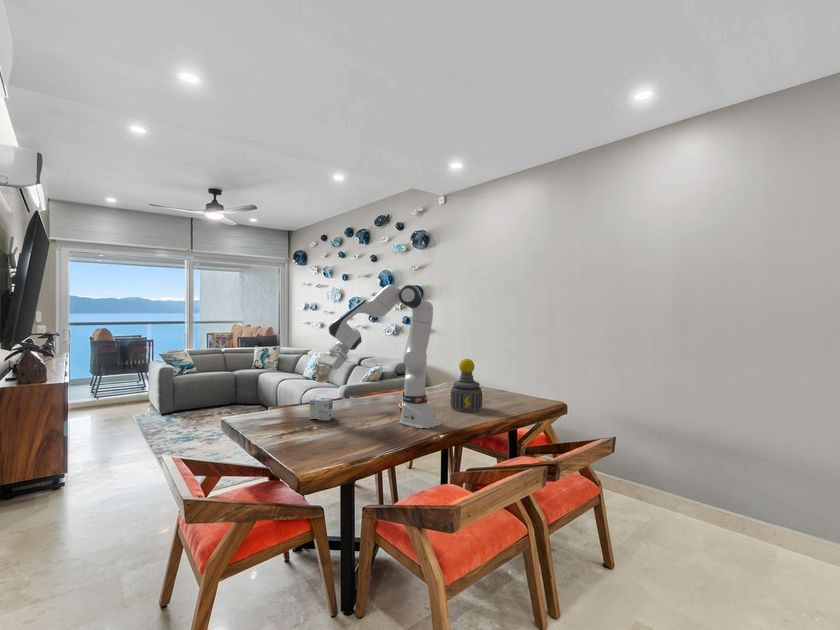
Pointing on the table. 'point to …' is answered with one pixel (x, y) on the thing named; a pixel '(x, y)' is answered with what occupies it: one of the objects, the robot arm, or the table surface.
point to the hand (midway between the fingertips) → (320, 372)
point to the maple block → (321, 373)
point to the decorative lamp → (466, 390)
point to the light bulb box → (321, 408)
